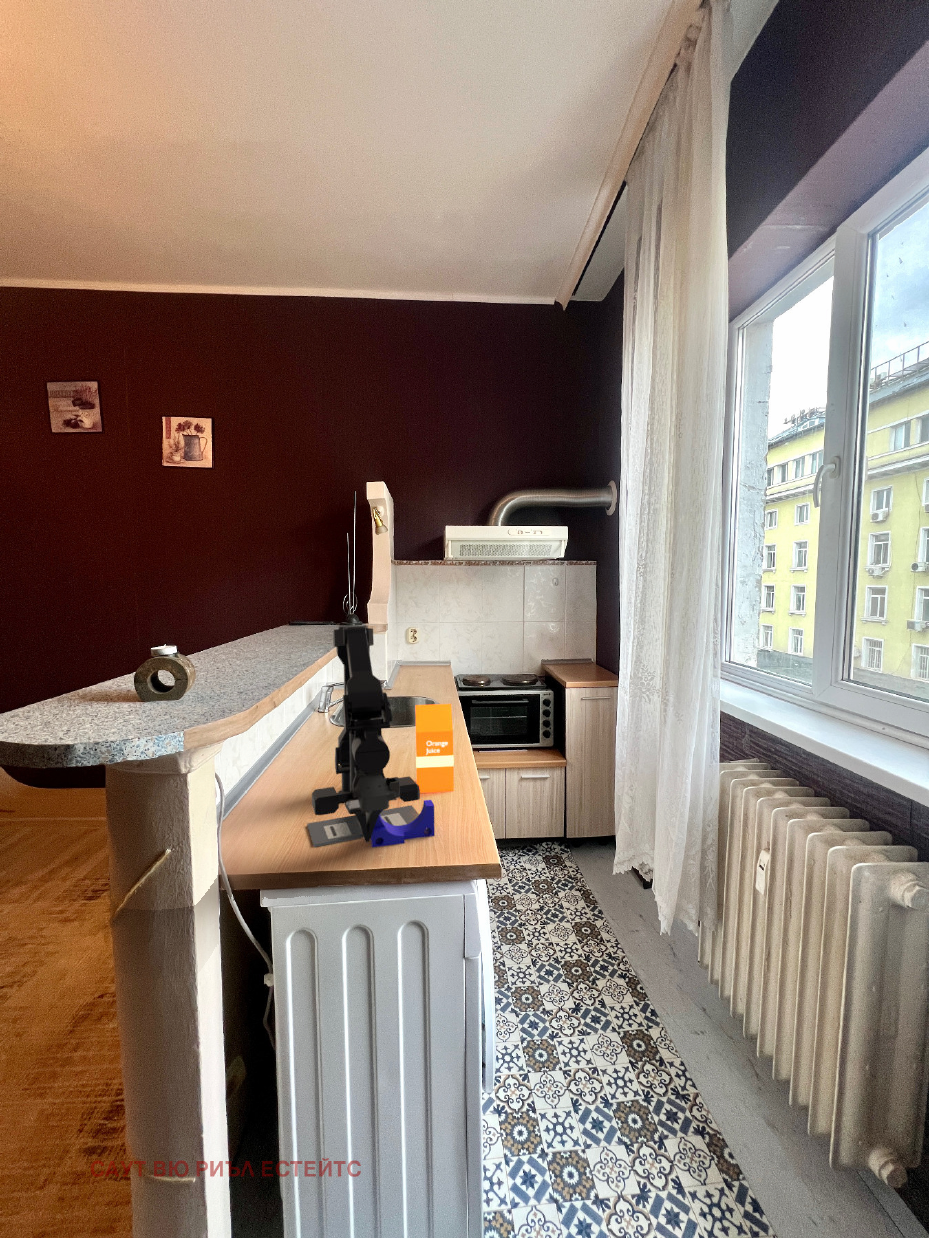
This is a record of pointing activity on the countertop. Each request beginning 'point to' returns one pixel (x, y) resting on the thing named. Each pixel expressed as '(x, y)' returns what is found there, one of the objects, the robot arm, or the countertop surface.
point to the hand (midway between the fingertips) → (367, 841)
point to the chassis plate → (355, 826)
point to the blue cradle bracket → (404, 828)
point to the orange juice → (434, 748)
